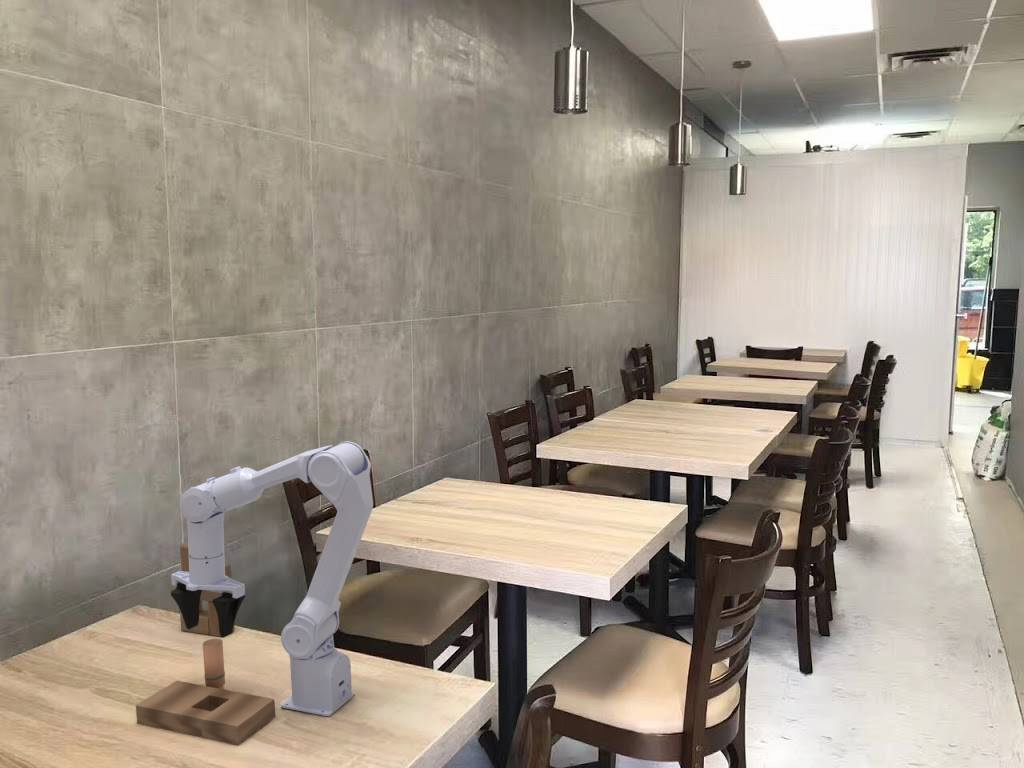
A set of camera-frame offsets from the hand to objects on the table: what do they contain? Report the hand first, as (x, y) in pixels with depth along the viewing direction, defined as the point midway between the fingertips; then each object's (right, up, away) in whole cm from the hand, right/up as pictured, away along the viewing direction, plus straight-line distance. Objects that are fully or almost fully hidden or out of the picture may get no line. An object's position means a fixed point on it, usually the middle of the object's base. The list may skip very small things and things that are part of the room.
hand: (209, 630), depth 143 cm
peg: (+1, -11, +1) cm, 11 cm away
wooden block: (-10, -8, +28) cm, 31 cm away
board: (+3, -12, -8) cm, 15 cm away
